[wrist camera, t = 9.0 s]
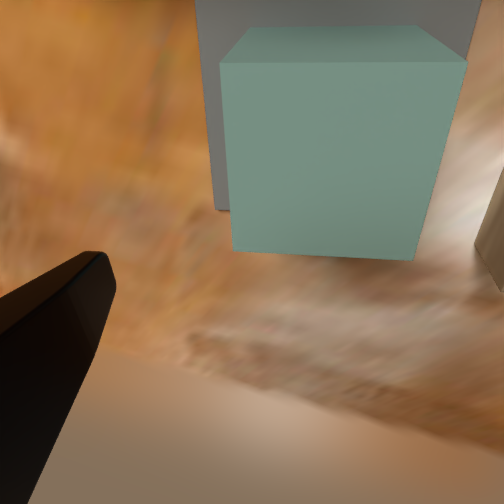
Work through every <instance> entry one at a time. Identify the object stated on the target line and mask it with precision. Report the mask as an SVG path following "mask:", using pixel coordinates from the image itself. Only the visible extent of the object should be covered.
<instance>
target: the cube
mask: <svg viewBox="0 0 504 504" xmlns="http://www.w3.org/2000/svg"><path fill="white" fill-rule="evenodd" d="M219 65H220V79H221V92H222V106H223V120H224V134H225V147H226V161H227V175H228V188H229V202H230V216H231V230H232V243H233V251H239V252H258V253H277V254H295V255H314V256H332V257H351V258H369V259H388V260H407V261H413V259H414V256H415V252H416V249H417V245H418V241H419V238H420V234H421V231H422V227H423V223H424V220H425V216H426V213H427V209H428V205H429V202H430V198H431V195H432V191H433V188H434V184H435V180H436V177H437V173H438V170H439V166H440V162H441V159H442V155H443V152H444V148H445V144H446V141H447V137H448V134H449V130H450V126H451V123H452V119H453V116H454V112H455V108H456V105H457V101H458V98H459V94H460V91H461V87H462V83H463V80H464V76H465V73H466V69H467V65H468V61H466V60H465V59H464V58H462V57H461V56H459V55H458V54H457V53H455V52H454V51H452V50H451V49H449V48H448V47H447V46H445V45H444V44H442V43H441V42H440V41H438V40H437V39H435V38H434V37H433V36H431V35H430V34H428V33H427V32H426V31H424V30H423V29H421V28H420V27H419V26H417V25H389V26H320V27H251V28H249V29H248V30H247V32H246V33H245V34H244V35H243V36H242V37H241V39H240V40H239V41H238V42H237V43H236V44H235V45H234V47H233V48H232V49H231V50H230V51H229V52H228V54H227V55H226V56H225V57H224V58H223V59H222V60H221V62H220V63H219Z"/></svg>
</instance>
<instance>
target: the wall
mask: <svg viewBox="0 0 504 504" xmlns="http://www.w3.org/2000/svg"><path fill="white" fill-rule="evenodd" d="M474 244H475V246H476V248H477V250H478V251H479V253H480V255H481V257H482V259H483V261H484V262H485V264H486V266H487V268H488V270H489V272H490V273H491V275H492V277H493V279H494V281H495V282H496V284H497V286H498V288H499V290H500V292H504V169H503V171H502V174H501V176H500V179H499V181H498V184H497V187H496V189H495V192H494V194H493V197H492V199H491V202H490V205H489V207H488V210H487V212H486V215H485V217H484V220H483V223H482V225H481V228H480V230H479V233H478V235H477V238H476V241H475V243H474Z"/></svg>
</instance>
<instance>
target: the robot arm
mask: <svg viewBox="0 0 504 504" xmlns="http://www.w3.org/2000/svg"><path fill="white" fill-rule="evenodd" d="M115 292H116V280H115V277H114V274H113V270H112V267H111V264H110V261H109V258H108V256H107V254H106V253H104V252H100V251H84V252H82V253H80V254H79V255H77V256H75V257H73V258H71V259H70V260H68V261H66V262H64V263H62V264H61V265H59V266H57V267H55V268H53V269H51V270H50V271H48V272H46V273H44V274H42V275H41V276H39V277H37V278H35V279H33V280H32V281H30V282H28V283H26V284H24V285H22V286H21V287H19V288H17V289H15V290H13V291H12V292H10V293H8V294H6V295H4V296H3V297H1V298H0V504H28V501H29V499H30V497H31V495H32V493H33V490H34V488H35V486H36V484H37V482H38V479H39V477H40V475H41V473H42V471H43V468H44V466H45V464H46V462H47V459H48V457H49V455H50V453H51V451H52V449H53V446H54V444H55V442H56V440H57V438H58V436H59V433H60V431H61V429H62V427H63V424H64V422H65V420H66V418H67V416H68V413H69V411H70V409H71V407H72V405H73V403H74V400H75V398H76V396H77V394H78V392H79V389H80V387H81V385H82V383H83V381H84V378H85V376H86V374H87V372H88V370H89V367H90V365H91V363H92V361H93V358H94V356H95V353H96V350H97V348H98V345H99V342H100V339H101V336H102V333H103V330H104V326H105V323H106V320H107V317H108V314H109V311H110V308H111V305H112V302H113V299H114V296H115Z"/></svg>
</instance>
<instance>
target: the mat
mask: <svg viewBox="0 0 504 504" xmlns="http://www.w3.org/2000/svg"><path fill="white" fill-rule="evenodd" d="M481 1H482V0H195V9H196V19H197V29H198V40H199V50H200V60H201V71H202V81H203V91H204V102H205V112H206V122H207V133H208V143H209V153H210V163H211V174H212V184H213V194H214V205H215V210H230V202H229V188H228V175H227V161H226V147H225V134H224V120H223V106H222V92H221V79H220V65H219V63H220V62H221V60H222V59H223V58H224V57H225V56H226V55H227V54H228V52H229V51H230V50H231V49H232V48H233V47H234V45H235V44H236V43H237V42H238V41H239V40H240V39H241V37H242V36H243V35H244V34H245V33H246V32H247V30H248V29H249V28H251V27H320V26H389V25H417V26H419V27H420V28H421V29H423V30H424V31H426V32H427V33H428V34H430V35H431V36H433V37H434V38H435V39H437V40H438V41H440V42H441V43H442V44H444V45H445V46H447V47H448V48H449V49H451V50H452V51H454V52H455V53H457V54H458V55H459V56H461V57H462V58H464V59H466V56H467V52H468V48H469V45H470V41H471V38H472V34H473V30H474V27H475V23H476V19H477V16H478V12H479V8H480V5H481Z"/></svg>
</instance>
